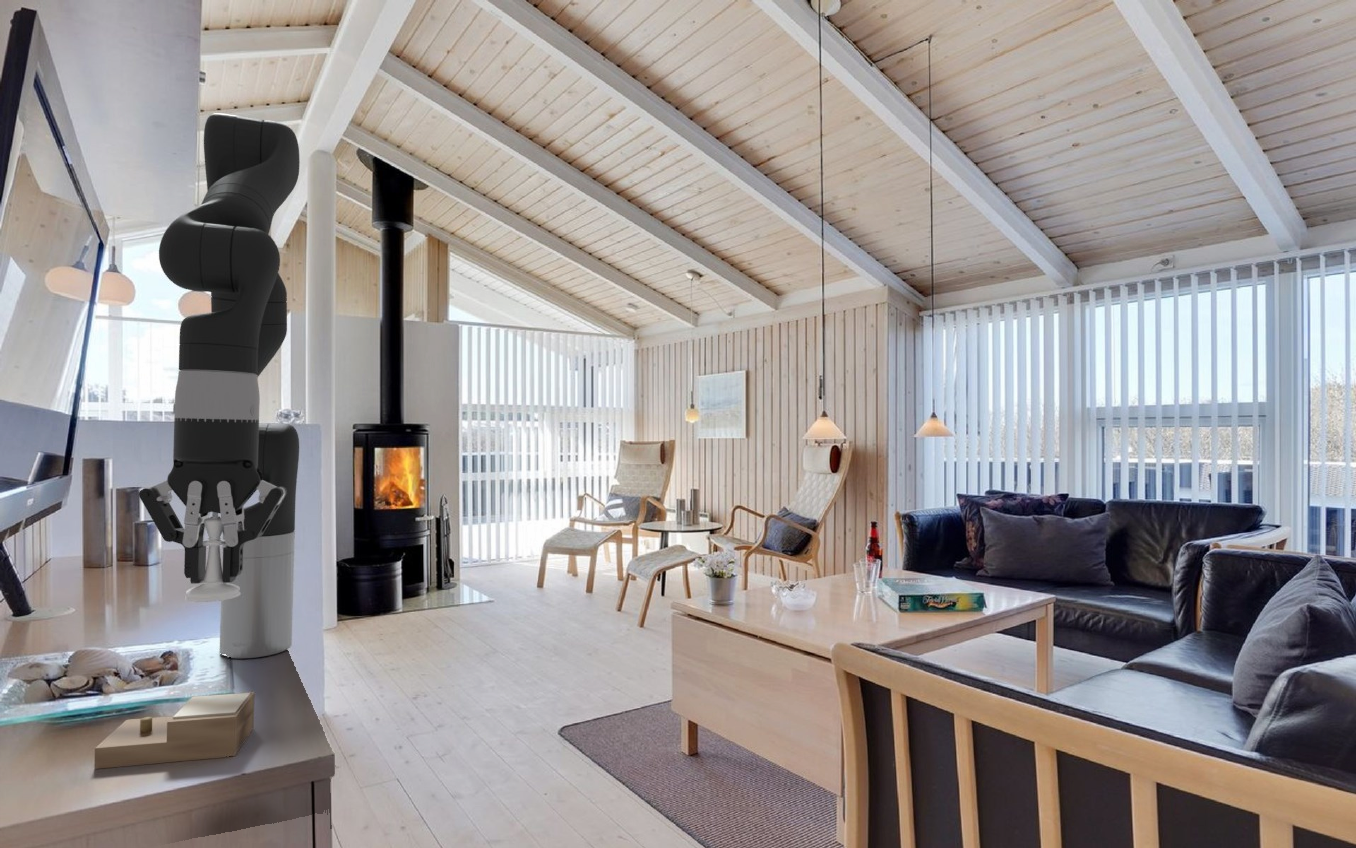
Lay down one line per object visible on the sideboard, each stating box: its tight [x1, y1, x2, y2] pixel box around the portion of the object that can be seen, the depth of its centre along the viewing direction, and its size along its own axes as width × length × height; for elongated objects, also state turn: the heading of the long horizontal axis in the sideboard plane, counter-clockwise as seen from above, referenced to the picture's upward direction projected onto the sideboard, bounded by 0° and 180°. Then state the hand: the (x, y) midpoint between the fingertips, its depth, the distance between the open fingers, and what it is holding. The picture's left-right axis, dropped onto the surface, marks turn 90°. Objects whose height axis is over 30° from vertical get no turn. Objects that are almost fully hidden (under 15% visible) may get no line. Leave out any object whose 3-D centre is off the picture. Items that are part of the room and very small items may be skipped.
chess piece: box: [184, 512, 241, 603], centre depth 77 cm, size 5×5×10 cm
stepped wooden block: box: [93, 691, 256, 770], centre depth 76 cm, size 7×12×4 cm, turn 106°
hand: (213, 580), depth 77 cm, fingers closed on chess piece, 2 cm apart
